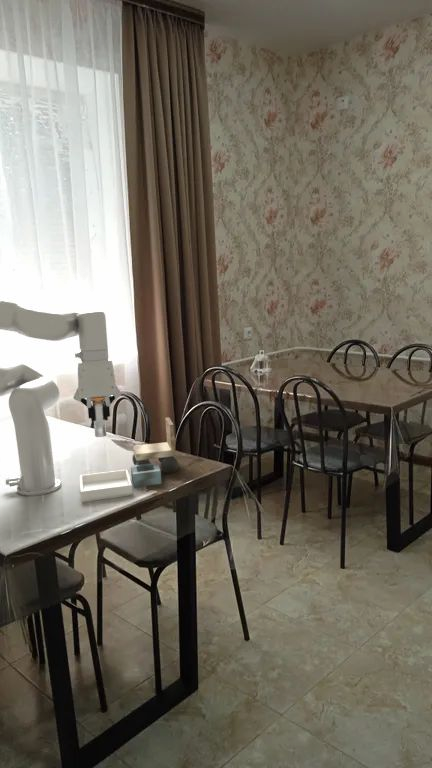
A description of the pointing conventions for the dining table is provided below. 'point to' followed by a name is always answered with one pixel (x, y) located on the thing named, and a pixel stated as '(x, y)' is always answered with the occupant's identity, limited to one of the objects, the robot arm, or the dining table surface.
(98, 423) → the stop pin
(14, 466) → the dining table surface
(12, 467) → the dining table surface
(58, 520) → the dining table surface
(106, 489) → the tray
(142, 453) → the trolley
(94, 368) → the robot arm
